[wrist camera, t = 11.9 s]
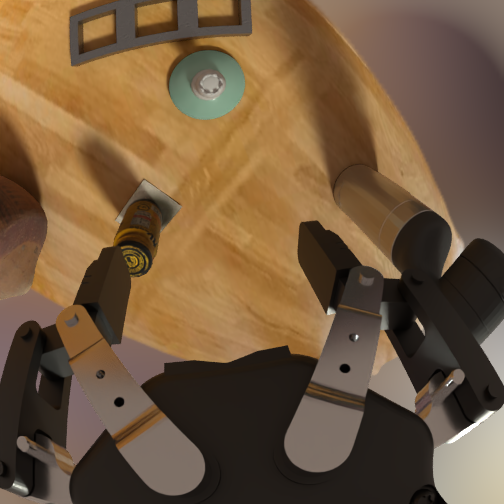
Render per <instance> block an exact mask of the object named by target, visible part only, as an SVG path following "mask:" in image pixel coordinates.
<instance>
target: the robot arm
mask: <svg viewBox="0 0 504 504" xmlns="http://www.w3.org/2000/svg"><path fill="white" fill-rule="evenodd" d="M334 199H335V202H336V204H337V205H338V207H339V208H340V209H341V210H342V211H343V212H344V213H345V214H346V215H347V216H348V217H349V218H350V219H351V220H352V221H353V222H354V223H355V224H356V225H357V226H358V227H359V228H360V229H361V230H362V231H363V232H364V233H365V234H366V235H367V236H368V237H369V238H370V240H371V241H372V242H373V243H374V244H375V245H376V246H377V247H378V248H379V249H380V250H381V251H382V252H383V253H384V255H385V256H386V257H387V258H388V259H389V260H390V261H391V262H392V264H393V265H394V266H395V267H396V268H397V269H398V270H399V271H400V273H401V274H402V275H401V278H400V279H388V278H383V275H382V274H381V273H380V272H379V271H378V270H376V269H374V268H372V267H369V266H363V265H362V264H361V263H360V262H359V260H358V259H357V258H356V257H355V255H354V254H353V253H352V252H351V250H350V249H348V247H347V245H346V244H345V243H344V242H343V241H342V239H341V238H340V237H339V236H338V235H337V234H335V233H334V232H332V231H330V230H325V229H324V228H323V226H322V225H321V224H320V223H319V222H318V221H317V220H316V221H307V222H301V223H300V226H299V239H298V260H299V263H300V266H301V267H302V269H303V271H304V273H305V275H306V277H307V279H308V280H309V282H310V284H311V286H312V288H313V290H314V292H315V294H316V295H317V297H318V299H319V301H320V303H321V305H322V307H323V309H324V311H325V313H326V315H329V314H334V313H336V314H335V317H334V320H333V323H332V326H331V329H330V332H329V335H328V337H327V340H326V343H325V345H324V348H323V351H322V353H321V356H320V359H319V360H318V359H316V358H313V357H310V356H306V355H300V354H291V353H290V351H289V348H288V345H287V346H282V347H277V348H272V349H266V350H261V351H257V352H254V353H252V354H249V355H247V356H244V357H242V358H239V359H237V360H234V361H231V362H228V363H219V362H207V361H196V360H192V361H183V362H173V363H164V373H161V374H159V375H156V376H154V377H152V378H151V379H149V380H148V381H146V382H145V383H143V384H142V385H141V386H139V385H138V383H137V382H136V381H135V380H134V378H133V377H132V376H131V374H130V373H129V372H128V371H127V369H126V368H125V367H124V365H123V364H122V363H121V361H120V360H119V359H118V357H117V356H116V354H115V353H114V352H113V350H112V349H111V344H120V343H121V339H122V333H123V327H124V321H125V315H126V309H127V304H128V299H129V294H130V289H131V277H130V273H129V270H128V268H127V265H126V262H125V259H124V256H123V253H122V250H121V248H120V246H113V247H106V248H103V249H102V251H101V253H100V256H99V258H98V260H94V261H93V263H92V264H91V265H90V266H89V267H88V268H87V270H86V273H85V275H84V278H83V280H82V282H81V283H82V284H81V285H80V287H79V290H78V293H77V295H76V298H75V300H74V303H73V305H72V306H69V307H67V308H65V309H64V310H63V311H62V312H61V313H60V314H59V315H58V317H57V320H56V324H54V325H51V326H48V327H46V328H43V329H42V328H41V327H40V326H39V324H38V323H37V322H36V321H27V322H25V323H24V324H22V325H21V326H20V327H19V328H18V330H17V331H16V333H15V336H14V339H13V342H12V345H11V347H10V350H9V354H8V357H7V360H6V364H5V367H4V371H3V375H2V378H1V382H0V488H2V489H4V490H7V491H9V492H12V493H14V494H16V495H18V496H19V497H22V498H25V499H28V500H31V501H34V502H37V503H41V504H447V503H446V502H445V501H444V499H443V498H442V497H441V495H440V494H439V493H438V491H437V489H436V487H435V484H434V478H433V452H434V449H435V448H436V447H439V446H440V445H442V444H444V443H447V444H448V443H452V442H454V441H456V440H457V439H459V438H460V437H462V436H463V435H465V434H466V433H468V432H469V431H471V430H472V429H474V428H475V427H477V426H478V425H479V424H481V423H482V422H483V421H485V420H486V419H487V418H489V417H490V416H491V415H492V414H494V413H495V412H496V411H498V410H499V409H500V408H501V407H502V405H503V404H504V385H503V383H502V381H501V380H500V378H499V376H498V374H497V373H496V371H495V369H494V368H493V366H492V364H491V363H490V361H489V360H488V358H487V356H486V354H485V353H484V351H483V350H482V348H481V347H480V344H481V343H482V342H483V341H484V340H485V339H486V338H487V337H488V336H489V335H490V334H491V333H492V332H493V331H494V330H495V328H496V327H497V326H498V325H499V324H500V323H501V322H502V320H503V319H504V253H503V252H502V251H501V250H500V249H498V248H497V247H496V246H495V245H493V244H492V243H490V242H489V241H486V240H484V239H480V238H477V239H474V240H473V241H472V242H471V243H470V244H469V245H468V246H467V247H466V248H465V250H464V251H463V252H462V253H461V254H460V256H459V257H458V258H457V259H456V261H455V262H454V263H453V264H452V265H451V266H450V268H449V269H448V270H447V271H446V272H445V273H444V275H443V276H442V277H441V275H442V270H443V266H444V263H445V260H446V258H447V255H448V253H449V250H450V246H451V241H452V233H451V229H450V226H449V225H448V223H447V222H446V221H445V220H444V219H443V218H442V217H441V216H439V215H438V214H437V213H435V212H434V211H433V210H431V209H430V208H429V207H427V206H426V205H425V204H423V203H422V202H420V201H419V200H418V199H416V198H415V197H414V196H412V195H411V194H410V193H409V192H408V191H406V190H405V189H403V188H402V187H400V186H399V185H397V184H396V183H394V182H393V181H391V180H390V179H388V178H387V177H385V176H384V175H382V174H381V173H379V172H376V171H375V170H373V169H371V168H370V167H368V166H366V165H353V166H351V167H349V168H347V169H346V170H344V171H343V172H342V173H341V175H340V176H339V177H338V179H337V181H336V183H335V187H334ZM416 318H418V319H419V321H420V322H421V324H422V325H423V327H424V330H425V336H424V335H423V333H422V331H421V329H420V328H419V326H418V325H417V323H416V322H415V320H416ZM380 330H385V332H386V334H387V336H388V338H389V340H390V341H391V343H392V345H393V347H394V349H395V351H396V353H397V355H398V356H399V358H400V360H401V362H402V364H403V366H404V368H405V370H406V372H407V374H408V376H409V378H410V380H411V382H412V384H413V386H414V388H415V390H416V393H417V396H416V399H415V407H416V410H415V413H413V412H411V411H409V410H407V409H406V408H404V407H401V406H400V405H398V404H396V403H394V402H392V401H391V400H389V399H387V398H385V397H383V396H381V395H379V394H378V393H376V392H374V391H372V390H370V389H368V385H369V381H370V377H371V373H372V369H373V364H374V359H375V355H376V350H377V345H378V339H379V334H380ZM38 371H39V372H40V373H41V374H42V375H41V380H40V385H39V391H38V393H37V390H36V379H37V374H38ZM73 374H75V376H76V378H77V380H78V382H79V384H80V386H81V388H82V389H83V391H84V393H85V395H86V396H87V398H88V400H89V402H90V403H91V405H92V407H93V408H94V410H95V412H96V413H97V415H98V416H99V418H100V420H101V421H102V423H103V424H104V426H105V427H106V429H105V430H104V431H103V433H102V434H101V435H100V436H99V438H98V439H97V440H96V441H95V443H94V444H93V445H92V446H91V448H90V449H89V450H88V451H87V453H86V454H85V455H84V456H83V458H82V459H81V460H80V461H79V463H78V464H77V465H76V466H75V464H74V463H73V460H72V457H71V455H70V454H69V452H68V451H67V450H66V436H67V417H68V405H69V395H70V387H71V380H72V375H73Z"/></svg>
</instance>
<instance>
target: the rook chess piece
mask: <svg viewBox="0 0 504 504" xmlns="http://www.w3.org/2000/svg"><path fill="white" fill-rule="evenodd" d="M225 87H226V80H225V78H224V76H223V75H222V74H221V73H219V72H218V71H216V70H212V69H206V70H202V71H200V72H198V73H197V74H196V75H195V76H194V77H193V79H192V82H191V89H192V92H193V93H194V95H195V96H196V97H198V98H199V99H202V100H206V101H207V100H213V99H215V98H217V97H219V96H220V95H221V94H222V93H223V91H224V90H225Z"/></svg>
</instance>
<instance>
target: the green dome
mask: <svg viewBox="0 0 504 504" xmlns="http://www.w3.org/2000/svg"><path fill="white" fill-rule="evenodd" d="M206 69H212V70H216V71H218V72H219V73H221V74H222V75H223V76H224V78H225V80H226V87H225V90H224V91H223V93H222V94H221V95H220V96H219V97H217V98H215V99H213V100H207V101H206V100H202V99H199V98H198V97H196V96H195V95H194V93H193V92H192V89H191V82H192V79H193V77H194V76H195V75H196V74H197V73H198V72H200V71H202V70H206ZM244 88H245V78H244V74H243V71H242V69H241V67H240V66H239V64H238V63H237V62H236V61H235V60H234V59H233V58H232V57H230V56H229V55H227V54H225V53H222V52H219V51H214V50H204V51H199V52H195V53H193V54H190V55H189V56H187V57H185V58H184V59H183V60H181V61H180V62H179V63H178V65H177V66H176V67H175V69H174V70H173V72H172V75H171V78H170V82H169V91H170V96H171V99H172V101H173V103H174V104H175V106H176V107H177V108H178V109H179V110H180V111H181V112H183V113H184V114H186V115H188V116H190V117H192V118H196V119H203V120H207V119H215V118H218V117H221V116H223V115H225V114H227V113H228V112H230V111H231V110H232V109H233V108H234V107H235V106H236V105H237V104H238V103H239V101H240V100H241V98H242V95H243V92H244Z"/></svg>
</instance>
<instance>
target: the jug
mask: <svg viewBox="0 0 504 504" xmlns="http://www.w3.org/2000/svg"><path fill="white" fill-rule="evenodd" d="M46 234H47V218H46V215H45V212H44V210H43V209H42V207H41V206H40V204H39V203H38V202H37V201H36V199H35V198H34V197H33V196H32V195H31V194H29V193H28V192H27V191H26V190H25V189H24V188H22V187H21V186H19V185H18V184H16V183H15V182H13V181H11V180H9V179H8V178H6V177H3V176H0V300H2V299H6V298H10V297H14V296H20V295H24V294H25V293H27V292H28V291H29V289H30V287H31V285H32V282H33V278H34V273H35V267H36V263H37V260H38V257H39V254H40V252H41V249H42V247H43V244H44V241H45V238H46Z"/></svg>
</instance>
